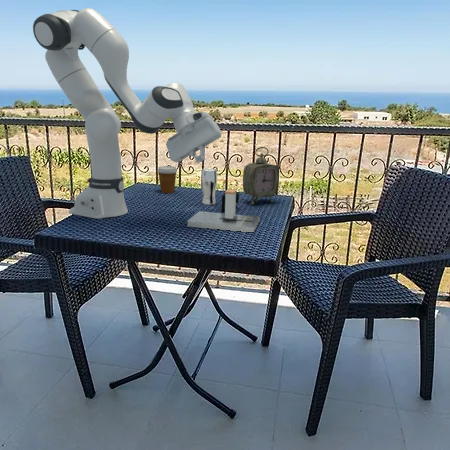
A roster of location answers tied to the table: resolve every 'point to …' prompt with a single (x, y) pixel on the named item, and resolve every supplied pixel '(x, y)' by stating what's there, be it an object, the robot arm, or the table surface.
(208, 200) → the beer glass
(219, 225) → the plate
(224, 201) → the digital camera
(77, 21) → the robot arm
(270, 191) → the tabletop clock
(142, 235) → the table surface
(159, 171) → the disposable coffee cup
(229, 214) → the fader tab
